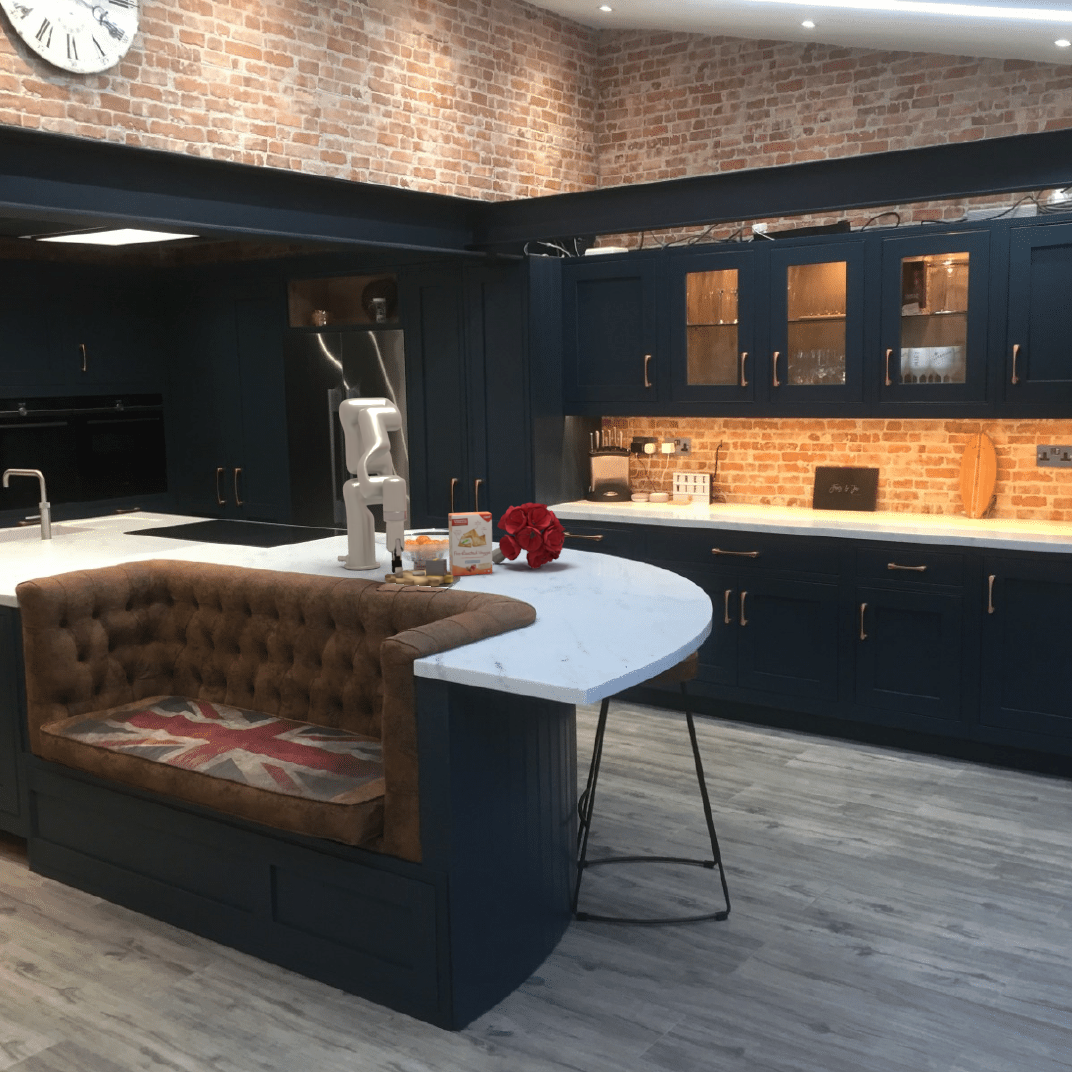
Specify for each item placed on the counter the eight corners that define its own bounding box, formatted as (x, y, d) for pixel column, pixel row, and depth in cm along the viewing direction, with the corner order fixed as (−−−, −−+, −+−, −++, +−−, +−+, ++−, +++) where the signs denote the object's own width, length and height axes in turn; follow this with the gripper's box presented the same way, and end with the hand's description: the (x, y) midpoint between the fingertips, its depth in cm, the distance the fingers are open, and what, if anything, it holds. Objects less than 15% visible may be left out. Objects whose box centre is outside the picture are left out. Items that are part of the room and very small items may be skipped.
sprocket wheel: (403, 590, 363) (403, 573, 363) (372, 580, 382) (372, 564, 381) (466, 582, 375) (465, 566, 375) (433, 572, 394) (432, 557, 393)
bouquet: (486, 589, 406) (548, 551, 390) (462, 527, 412) (521, 488, 395) (524, 583, 424) (585, 547, 407) (500, 525, 429) (559, 487, 412)
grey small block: (425, 575, 376) (425, 559, 375) (429, 573, 379) (428, 558, 379) (443, 576, 375) (443, 560, 374) (447, 574, 378) (446, 558, 377)
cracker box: (452, 576, 393) (451, 514, 390) (449, 573, 399) (447, 512, 396) (493, 574, 397) (492, 512, 394) (489, 571, 403) (488, 510, 400)
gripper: (380, 514, 384) (382, 569, 387) (386, 519, 370) (388, 577, 372) (403, 512, 386) (405, 568, 388) (410, 518, 371) (411, 575, 374)
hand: (397, 572), depth 380 cm, fingers closed
